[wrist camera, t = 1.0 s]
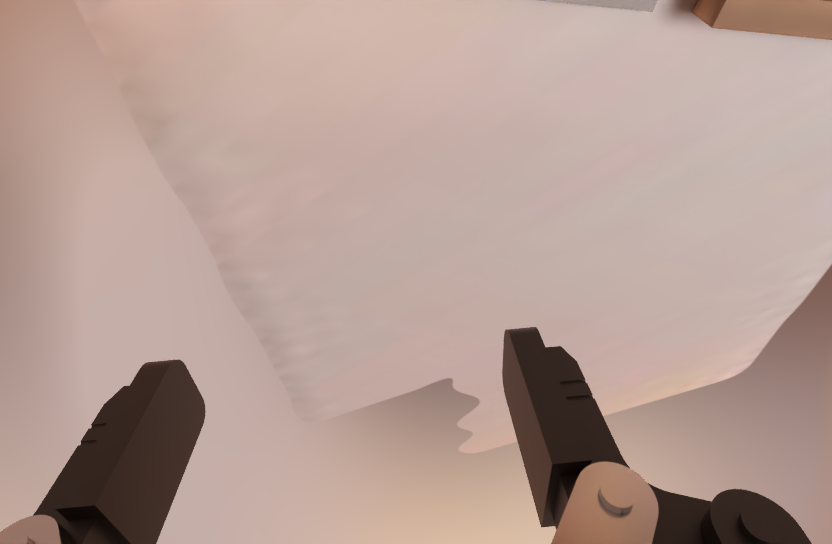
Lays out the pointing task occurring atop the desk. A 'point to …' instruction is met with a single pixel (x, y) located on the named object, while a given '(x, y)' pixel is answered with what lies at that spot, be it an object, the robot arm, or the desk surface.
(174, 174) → the desk surface
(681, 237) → the desk surface
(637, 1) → the mat
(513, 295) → the desk surface
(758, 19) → the holder
